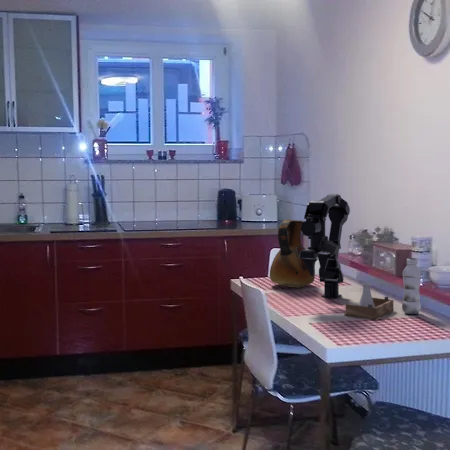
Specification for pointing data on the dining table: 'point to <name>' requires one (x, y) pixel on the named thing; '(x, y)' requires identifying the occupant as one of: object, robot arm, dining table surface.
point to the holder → (371, 309)
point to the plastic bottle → (411, 287)
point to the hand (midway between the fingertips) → (317, 274)
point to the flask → (366, 296)
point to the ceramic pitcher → (290, 257)
